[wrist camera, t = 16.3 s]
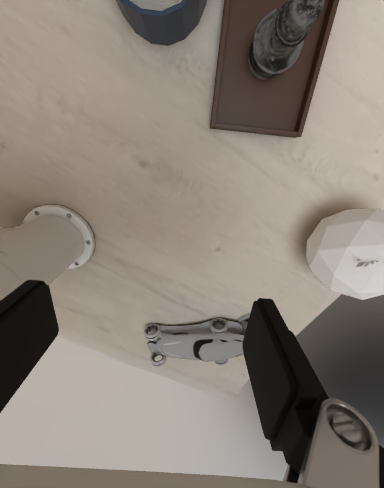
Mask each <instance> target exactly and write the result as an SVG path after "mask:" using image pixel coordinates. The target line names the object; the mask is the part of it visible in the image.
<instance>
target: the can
mask: <svg viewBox="0 0 384 488" xmlns="http://www.w3.org/2000/svg"><path fill="white" fill-rule="evenodd" d="M116 2H117V4H118V6H119V7H120V9H121V11H122V13H123V15H124V17H125V18H126V19H127V21H128V22H129V24H130V25H131V27H132V28H133V29H134V31H135V32H136V33H137V34H138V35H140V36H141V37H143V38H144V39H146V40H147V41H149V42H150V43H153V44H161V45H171V44H173V43H176V42H178V41H181V40H183V39H185V38H186V37H187V36H188V35H189V33H190V32H191V31H192V30H193V29H194V28H195V27H196V26H197V25H198V23H199V20H200V18H201V15H202V13H203V10H204V8H205V5H206V2H207V0H182V2H181V3H179V4H177V5H175V6H172V7H170V8H168V9H165V10H163V11H155V10H147V9H141V8H139V7H138V6H136V5H135V4H133V3H132V2H131V1H129V0H116Z"/></svg>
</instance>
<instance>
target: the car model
mask: <svg viewBox="0 0 384 488" xmlns="http://www.w3.org/2000/svg"><path fill="white" fill-rule="evenodd" d="M242 332H243V330H242V327H241V325H240V324H239V323H237V322H233V321H229V320H225V319H222V318H215V319H213V320H210V321H206V322H203V323H200V324H193V325H185V326H164V325H157V324H150V325H148V326H147V327H146V328H145V329H144V336H145V338H146V339H148V340H149V341H151V342H149V343H147V344H148V347H149V349H150V350H151V352H152V355H151V363H152V364H153V365H154V366H156V367H158V366H161V365H163V364H164V363H165V361H166V356H168V357H173V358H180V359H194V360H203V361H206V362H211V361H214V362H215V363H216V364H218V365H223V364H225V363H226V362H227V361H228V358H233V357H237V356H241V355H244V353H243V347H242V344H243V339H244V335H241V334H240V333H242ZM157 355H162V356H163V358H162V359H161V360H160V361H155V360H154V358H155V357H156V356H157Z"/></svg>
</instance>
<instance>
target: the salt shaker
mask: <svg viewBox="0 0 384 488" xmlns="http://www.w3.org/2000/svg"><path fill="white" fill-rule="evenodd" d="M323 6H324V0H289V1H287V2H286V3H285V4H284V5H283V6H282V7H281V8H276V9H274V10H272V11H270V12H269V13H268V14H267V15H266V16H265V17H263V19H262V20H261V22H260V23H259V25H258V27H257V29H256V32H255V34H254V39H253V41H252V44H251V46H250V49H249V54H248V62H249V67H250V69H251V71H252V73H253V74H254V75H255V76H256V77H257V78H259V79H262V80H269V79H272V78H274V77H276V76H277V75H278V74H279V73H281V72H284V71H286V70H287V69H288V68H290V67H291V66H292V65H293V64H294V62H295V61H296V60H297V58H298V56H299V55H300V53H301V50H302V46H303V43H304V39H305V37H306V36H307V34H308V32H309V29H310V27H311V26H312V25H313V24H314V23H315V22H316V20H317V19H318V18H319V16H320V14H321V12H322V9H323Z"/></svg>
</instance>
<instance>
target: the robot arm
mask: <svg viewBox="0 0 384 488" xmlns="http://www.w3.org/2000/svg"><path fill="white" fill-rule="evenodd" d="M94 248H95V239H94V235H93V232H92V230H91V228H90V226H89V225H88V224H87V222H86V221H85V220H84V219H83V218H82V217H81V216H80V215H79V214H77V213H76V212H74V211H73V210H71V209H69V208H66V207H64V206H60V205H43V206H40V207H37V208H35V209H33V210H31V211H30V212H29V213H28V214H27V215H26V217H25V218H24V220H23V224H22V225H20V226H17V227H12V228H6V227H0V413H1V411H2V410H3V408H4V407H5V405H6V404H7V403H8V402H9V400H10V399H11V398H12V396H13V395H14V394H15V392H16V391H17V389H18V388H19V387H20V385H21V384H22V383H23V381H24V380H25V379H26V377H27V376H28V374H29V373H30V372H31V370H32V369H33V368H34V366H35V365H36V364H37V362H38V361H39V359H40V358H41V357H42V356H43V354H44V353H45V351H46V350H47V349H48V347H49V346H50V345H51V343H52V342H53V340H54V339H55V338H56V336H57V334H58V331H59V328H58V323H57V319H56V315H55V310H54V306H53V302H52V298H51V293H50V289H49V285H50V284H51V283H52V282H53V281H54V280H55V279H56V278H57V277H58V276H59V275H60V274H61V273H62V272H64V271H65V270H66V269H72V268H77V267H79V266H81V265H83V264H85V263H86V262H87V261H88V260H89V259H90V257H91V256H92V254H93V252H94ZM242 347H243V353H244V357H245V361H246V365H247V369H248V373H249V377H250V381H251V385H252V389H253V393H254V397H255V401H256V405H257V409H258V413H259V417H260V421H261V425H262V429H263V433H264V436H265V438H266V439H268V440H270V444H271V447H272V450H273V451H283V453H284V457H285V460H286V462H287V463H288V466H287V470H286V473H285V476H284V479H283V481H278V480H269V479H256V478H243V477H230V476H217V475H200V474H182V473H164V472H146V471H127V470H107V469H89V468H87V469H86V468H68V467H49V466H28V465H6V464H0V488H384V448H382V447H381V446H380V445H379V444H378V439H377V436H376V434H375V432H374V430H373V428H372V427H371V426H370V424H369V423H368V421H367V420H366V419H365V418H364V417H363V416H362V415H361V414H360V413H359V412H358V411H357V410H356V409H354V408H353V407H352V406H351V405H349V404H347V403H345V402H343V401H341V400H337V399H329V398H328V396H327V394H326V392H325V390H324V388H323V387H322V385H321V383H320V381H319V380H318V377H317V376H316V374H315V372H314V370H313V369H312V367H311V365H310V363H309V361H308V359H307V358H306V356H305V354H304V352H303V350H302V349H301V347H300V345H299V343H298V341H297V339H296V337H295V336H294V334H293V333H292V332H291V331H290V330H288V328H287V326H286V324H285V322H284V320H283V318H282V316H281V315H280V313H279V311H278V309H277V307H276V305H275V303H274V301H273V300H272V299H263V298H259V299H258V300H257V301H254V303H253V306H252V310H251V314H250V317H249V321H248V325H247V328H246V332H245V335H244V339H243V344H242Z"/></svg>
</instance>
